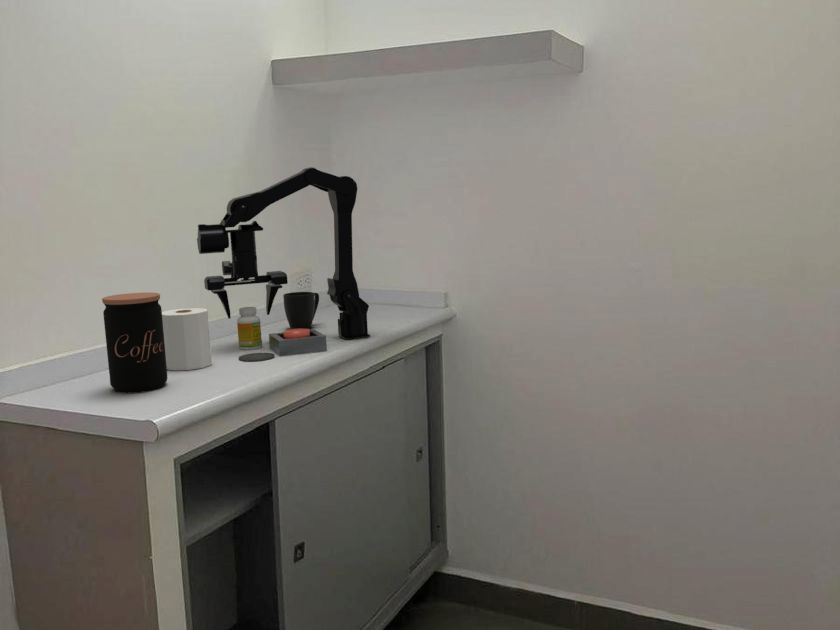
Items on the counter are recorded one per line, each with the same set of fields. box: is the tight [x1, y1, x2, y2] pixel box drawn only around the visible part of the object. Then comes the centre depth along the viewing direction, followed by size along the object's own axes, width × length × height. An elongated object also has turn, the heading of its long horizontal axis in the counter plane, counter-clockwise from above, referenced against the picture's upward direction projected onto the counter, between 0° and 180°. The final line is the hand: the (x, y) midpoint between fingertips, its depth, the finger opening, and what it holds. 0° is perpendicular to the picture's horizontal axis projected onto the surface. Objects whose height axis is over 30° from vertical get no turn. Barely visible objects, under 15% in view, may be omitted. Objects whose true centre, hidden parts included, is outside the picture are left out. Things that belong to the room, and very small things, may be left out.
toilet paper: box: [162, 307, 213, 371], centre depth 181 cm, size 10×10×12 cm
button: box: [283, 328, 311, 339], centre depth 195 cm, size 6×6×2 cm
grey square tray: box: [268, 328, 328, 357], centre depth 195 cm, size 11×11×4 cm
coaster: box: [238, 352, 276, 363], centre depth 187 cm, size 8×8×1 cm
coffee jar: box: [101, 292, 168, 394], centre depth 162 cm, size 11×11×18 cm
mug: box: [282, 291, 320, 330], centre depth 226 cm, size 8×12×10 cm
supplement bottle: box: [236, 306, 263, 351], centre depth 199 cm, size 5×5×10 cm
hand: (248, 316), depth 198 cm, fingers open, 9 cm apart
